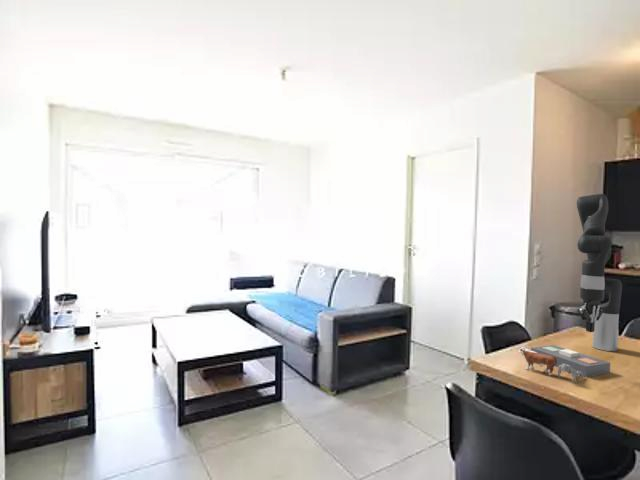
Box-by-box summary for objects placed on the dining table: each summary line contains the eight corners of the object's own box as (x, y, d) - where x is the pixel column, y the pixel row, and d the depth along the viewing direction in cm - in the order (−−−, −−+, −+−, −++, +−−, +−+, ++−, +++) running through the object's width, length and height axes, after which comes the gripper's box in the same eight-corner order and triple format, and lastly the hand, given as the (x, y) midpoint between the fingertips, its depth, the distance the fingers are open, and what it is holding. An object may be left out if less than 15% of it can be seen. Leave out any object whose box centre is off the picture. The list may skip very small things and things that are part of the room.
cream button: (566, 356, 156) (567, 349, 156) (578, 360, 152) (578, 352, 152) (558, 357, 154) (559, 350, 154) (570, 361, 150) (570, 353, 150)
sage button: (549, 353, 163) (549, 346, 163) (560, 357, 159) (560, 350, 158) (541, 354, 161) (542, 347, 161) (552, 358, 157) (552, 351, 157)
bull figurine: (518, 364, 151) (519, 344, 151) (557, 374, 141) (558, 353, 141) (514, 367, 148) (515, 346, 148) (554, 377, 138) (555, 355, 138)
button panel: (553, 353, 166) (553, 344, 166) (609, 372, 145) (610, 362, 145) (530, 356, 161) (531, 347, 161) (585, 377, 140) (586, 366, 140)
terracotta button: (585, 365, 149) (585, 357, 149) (597, 369, 145) (598, 362, 145) (577, 366, 147) (577, 359, 147) (589, 371, 143) (590, 363, 143)
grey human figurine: (566, 380, 142) (550, 374, 136) (569, 366, 143) (554, 360, 137) (585, 387, 137) (569, 380, 131) (588, 372, 138) (573, 365, 132)
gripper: (593, 285, 151) (591, 327, 152) (571, 286, 146) (568, 330, 146) (613, 288, 144) (611, 332, 145) (591, 289, 139) (589, 335, 140)
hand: (590, 331), depth 146 cm, fingers closed
